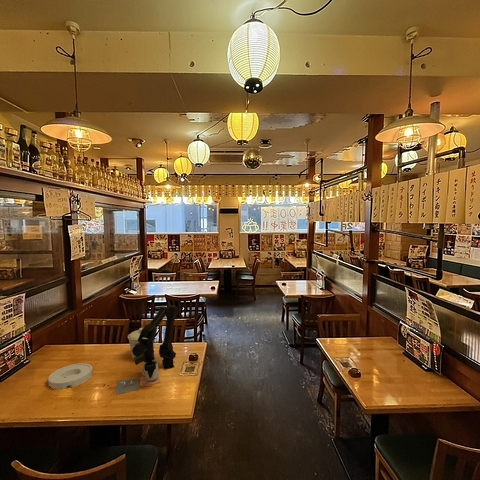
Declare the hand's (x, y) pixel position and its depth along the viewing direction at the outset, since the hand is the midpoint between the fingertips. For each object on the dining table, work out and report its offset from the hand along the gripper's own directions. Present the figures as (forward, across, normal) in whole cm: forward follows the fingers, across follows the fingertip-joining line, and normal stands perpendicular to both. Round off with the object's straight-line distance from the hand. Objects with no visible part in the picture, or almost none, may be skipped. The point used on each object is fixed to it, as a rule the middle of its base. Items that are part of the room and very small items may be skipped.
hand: (149, 374), depth 169 cm
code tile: (+4, 0, -13) cm, 13 cm away
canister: (+4, -34, -2) cm, 34 cm away
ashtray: (+4, -23, -44) cm, 50 cm away
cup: (+2, -1, 0) cm, 2 cm away
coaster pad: (+4, 0, 0) cm, 4 cm away
